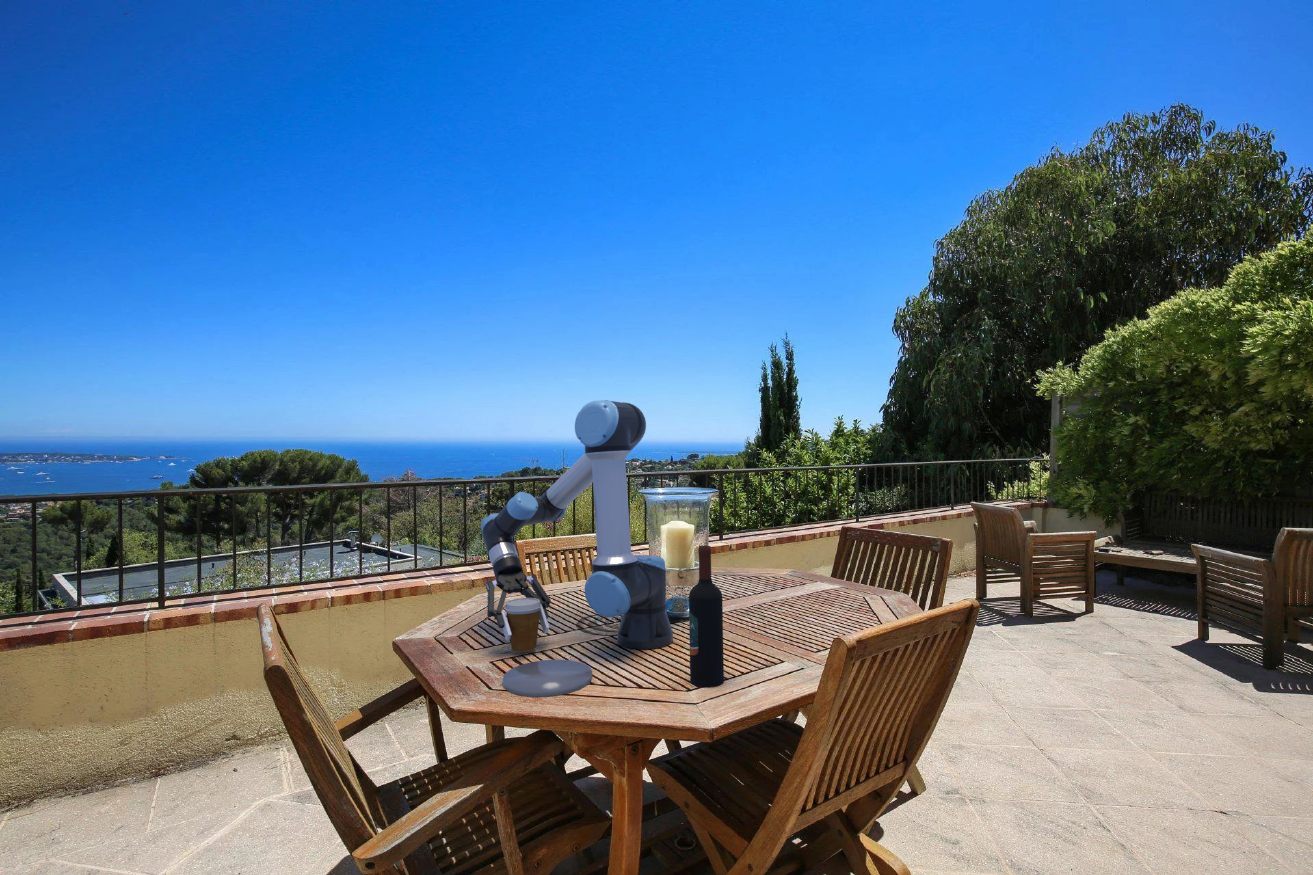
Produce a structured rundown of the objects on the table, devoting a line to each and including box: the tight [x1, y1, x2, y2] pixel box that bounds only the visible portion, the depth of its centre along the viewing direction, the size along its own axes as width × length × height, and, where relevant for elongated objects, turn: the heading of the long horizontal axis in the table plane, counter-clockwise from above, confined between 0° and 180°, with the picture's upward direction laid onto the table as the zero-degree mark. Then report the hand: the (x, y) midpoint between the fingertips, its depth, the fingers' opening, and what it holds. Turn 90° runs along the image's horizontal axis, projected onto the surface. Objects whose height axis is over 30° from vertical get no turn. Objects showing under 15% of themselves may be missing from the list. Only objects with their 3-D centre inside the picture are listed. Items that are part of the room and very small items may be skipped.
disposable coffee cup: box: [503, 597, 542, 653], centre depth 161 cm, size 10×10×12 cm
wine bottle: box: [688, 545, 725, 688], centre depth 140 cm, size 8×8×30 cm
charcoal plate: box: [502, 658, 593, 698], centre depth 142 cm, size 20×20×1 cm
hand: (528, 633), depth 159 cm, fingers closed on disposable coffee cup, 9 cm apart
